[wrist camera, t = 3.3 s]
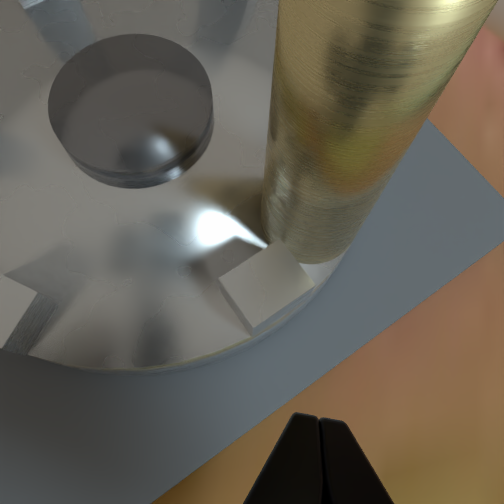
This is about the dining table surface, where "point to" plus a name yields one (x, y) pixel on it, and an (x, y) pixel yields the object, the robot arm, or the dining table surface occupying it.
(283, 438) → the robot arm
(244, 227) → the metal disc with post
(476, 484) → the dining table surface
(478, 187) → the housing plate
